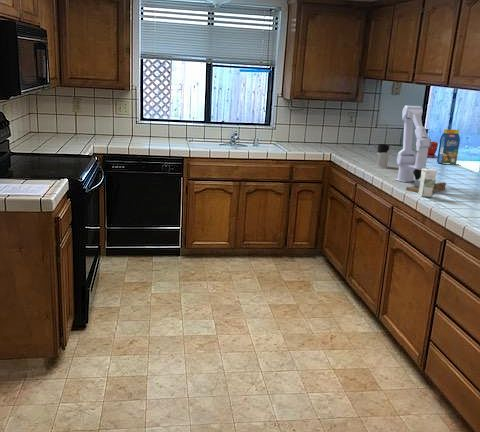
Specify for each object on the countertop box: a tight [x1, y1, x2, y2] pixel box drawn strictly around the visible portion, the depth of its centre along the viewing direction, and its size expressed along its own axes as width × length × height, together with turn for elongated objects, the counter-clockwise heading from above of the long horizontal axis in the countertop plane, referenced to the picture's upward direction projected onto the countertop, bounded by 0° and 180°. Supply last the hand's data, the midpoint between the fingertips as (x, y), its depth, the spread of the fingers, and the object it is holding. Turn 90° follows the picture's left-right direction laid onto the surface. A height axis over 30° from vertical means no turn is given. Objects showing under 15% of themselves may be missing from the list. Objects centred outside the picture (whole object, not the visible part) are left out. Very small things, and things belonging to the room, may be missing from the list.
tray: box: [413, 179, 437, 188], centre depth 287 cm, size 12×5×5 cm, turn 127°
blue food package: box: [436, 128, 461, 165], centre depth 376 cm, size 6×12×25 cm, turn 101°
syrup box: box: [417, 167, 437, 198], centre depth 270 cm, size 6×6×14 cm
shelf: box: [405, 181, 447, 194], centre depth 287 cm, size 22×10×4 cm, turn 127°
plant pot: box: [427, 141, 439, 158], centre depth 408 cm, size 13×13×12 cm
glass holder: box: [367, 143, 390, 169], centre depth 352 cm, size 9×14×15 cm, turn 78°
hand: (417, 183), depth 291 cm, fingers closed
